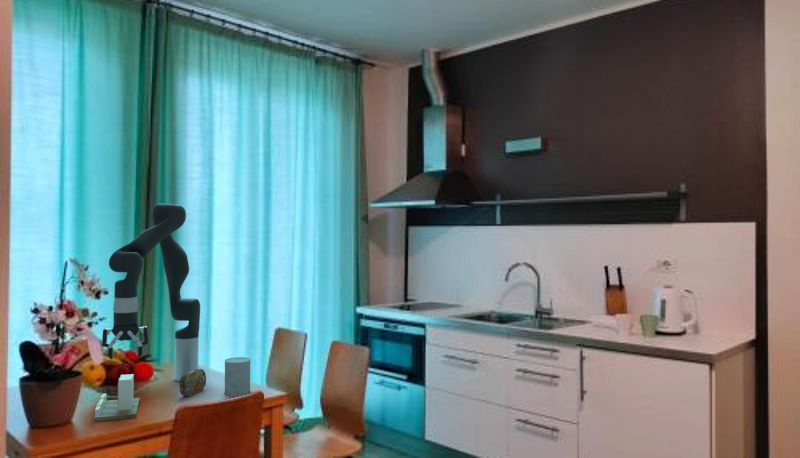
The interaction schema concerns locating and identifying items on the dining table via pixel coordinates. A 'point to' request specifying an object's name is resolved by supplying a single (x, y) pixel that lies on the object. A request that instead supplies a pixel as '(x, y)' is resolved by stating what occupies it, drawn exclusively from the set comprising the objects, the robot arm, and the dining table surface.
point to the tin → (192, 382)
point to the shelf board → (117, 411)
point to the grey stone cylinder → (237, 376)
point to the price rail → (100, 405)
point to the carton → (125, 392)
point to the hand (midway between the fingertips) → (125, 358)
